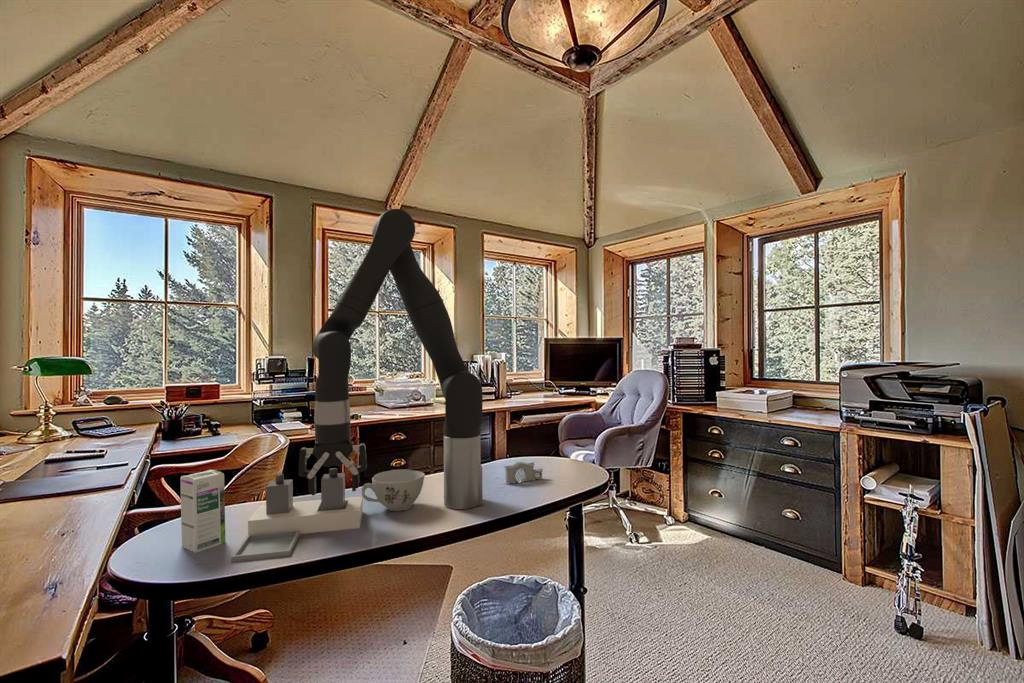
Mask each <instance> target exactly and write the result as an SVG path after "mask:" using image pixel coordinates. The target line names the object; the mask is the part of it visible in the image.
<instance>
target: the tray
mask: <svg viewBox="0 0 1024 683" xmlns="http://www.w3.org/2000/svg"><path fill="white" fill-rule="evenodd" d="M300 536H301V534H300V530H298V531H288V532H277V533H267V534H256V535H248V534H247V535H246V536H245V538H244V539H243V541H242V542H241V544H240V545H239V546H238V547H237V548H236V550H235V551H234V552H233V553H232V555H231V556H230V562H231V563H233V562H242V561H254V560H262V559H270V558H272V559H273V558H281V557H289V556H291V554H292V553H293V550H294V548H295V545H296V543H297V542H298V540H299V537H300Z"/></svg>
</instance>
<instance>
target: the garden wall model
mask: <svg viewBox="0 0 1024 683" xmlns="http://www.w3.org/2000/svg"><path fill="white" fill-rule="evenodd" d="M534 466H535V462H533V461H532V462H528V463H526V462H524V461H517V462H515V463H514V464H512V465H505V466H504V469H505V484H506V483H507V484H506V485H509V484H508V483H513V484H515V483H514V482H519V481H520V480H521V482H523V483H524V481H526V482H530V481H529V480H532V481H536V480H535V479H538V480H542V479H543V470H544V469H543V468H538V469H537V468H536V469H534V468H535V467H534Z"/></svg>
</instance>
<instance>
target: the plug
mask: <svg viewBox="0 0 1024 683" xmlns="http://www.w3.org/2000/svg"><path fill="white" fill-rule="evenodd" d="M320 480H321V481H320V485H321V486H320V491H321V496H320V498H321V499H320V500H321V511H329V510H341V509H345V498H346V472H340V473H339V472H338V468H336V467H333V468H329V469H328V473H324V474H323V476H322V477H321V479H320Z"/></svg>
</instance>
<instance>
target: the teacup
mask: <svg viewBox="0 0 1024 683" xmlns="http://www.w3.org/2000/svg"><path fill="white" fill-rule="evenodd" d="M425 476H426V474H425V473H424V472H422V471H419V470H413V469H403V468H401V469H391V470H388V471H387V470H386V471H382V472H381V471H380V472H378V473H377V474H374V476H373V477H371V481H372V482H371V483H370V482H367V483H364V484H363V485H362V487H361V496H363V499H365V501H367V502H373V503H374V502H375V503H378V504H381V505H382V506H383V507H385V508H386V510H388V511H390V512H402V510H403V511H407V510H409V509H410V508H411V507H412V506H413V504H414V503H415V502H416V501H417V499H418V498H419V496H420V494H421V492H422V489H423V486H424V480H425ZM368 488H370V489H371V491H372V492H373V493H374V494H375V496H376V498H373V497H369V496H367V495H366V494H365V492H366V490H367V489H368ZM408 508H409V509H408Z"/></svg>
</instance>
